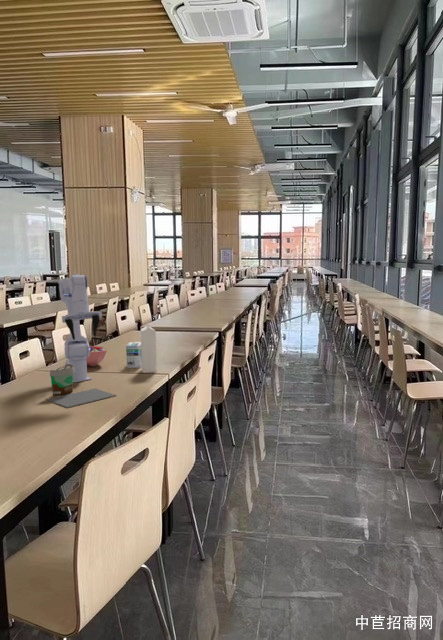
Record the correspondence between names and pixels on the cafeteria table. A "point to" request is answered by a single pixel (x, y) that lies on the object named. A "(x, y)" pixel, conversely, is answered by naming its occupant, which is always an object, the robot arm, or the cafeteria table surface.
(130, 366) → the light bulb box
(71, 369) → the food container
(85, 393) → the mat
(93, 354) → the cell model
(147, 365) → the milk
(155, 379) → the cafeteria table surface
